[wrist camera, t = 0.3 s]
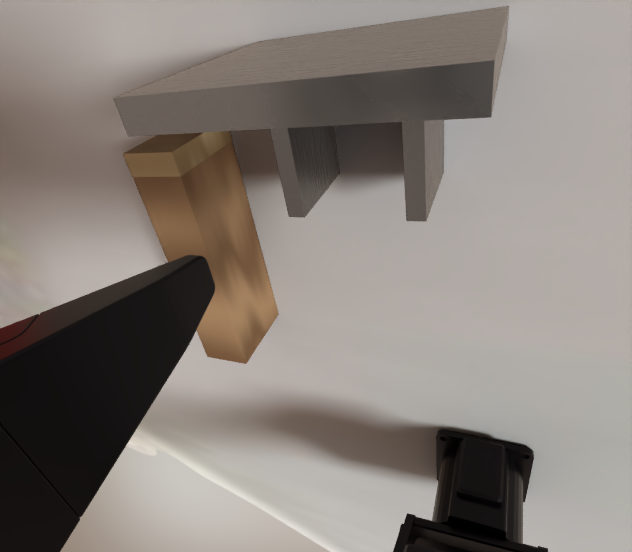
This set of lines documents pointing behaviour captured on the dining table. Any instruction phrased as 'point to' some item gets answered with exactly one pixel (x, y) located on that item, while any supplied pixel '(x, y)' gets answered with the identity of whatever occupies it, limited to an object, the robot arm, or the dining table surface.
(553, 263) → the dining table surface
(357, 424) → the dining table surface
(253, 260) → the rail
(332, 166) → the cup bracket
